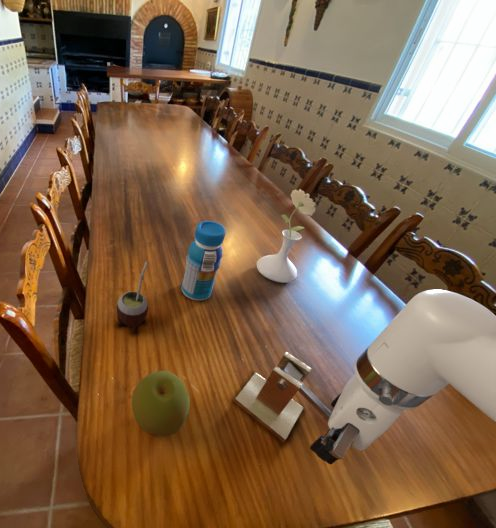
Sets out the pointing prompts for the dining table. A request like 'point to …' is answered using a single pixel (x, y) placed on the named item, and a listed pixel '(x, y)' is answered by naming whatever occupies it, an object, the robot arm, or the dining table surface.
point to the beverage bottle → (203, 260)
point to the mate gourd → (132, 307)
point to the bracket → (274, 398)
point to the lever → (309, 395)
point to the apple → (160, 403)
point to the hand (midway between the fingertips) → (330, 431)
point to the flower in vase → (286, 244)
